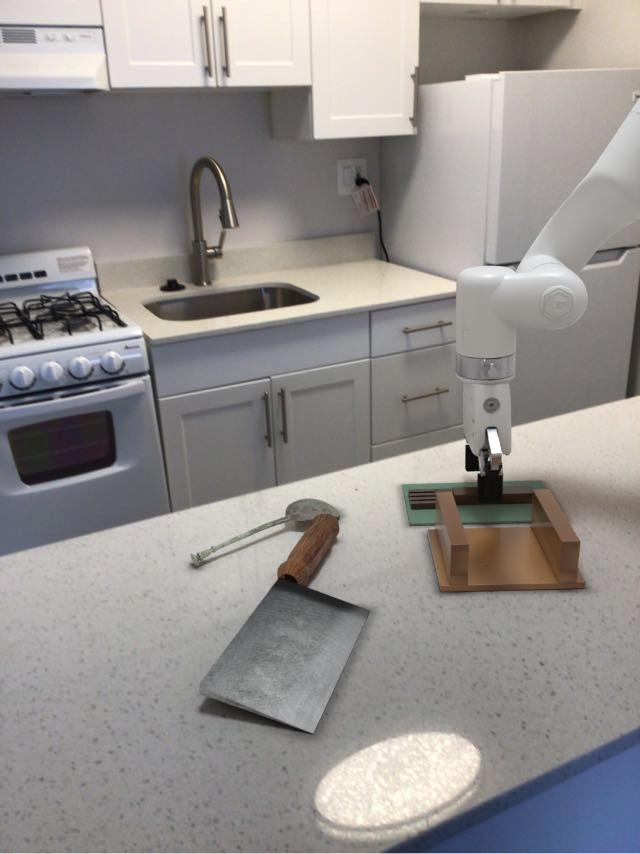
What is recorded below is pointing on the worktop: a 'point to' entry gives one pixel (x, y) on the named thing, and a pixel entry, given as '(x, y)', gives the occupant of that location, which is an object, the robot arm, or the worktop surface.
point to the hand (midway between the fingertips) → (482, 485)
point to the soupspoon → (278, 522)
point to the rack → (505, 550)
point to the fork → (468, 496)
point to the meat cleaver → (290, 642)
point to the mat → (473, 506)
